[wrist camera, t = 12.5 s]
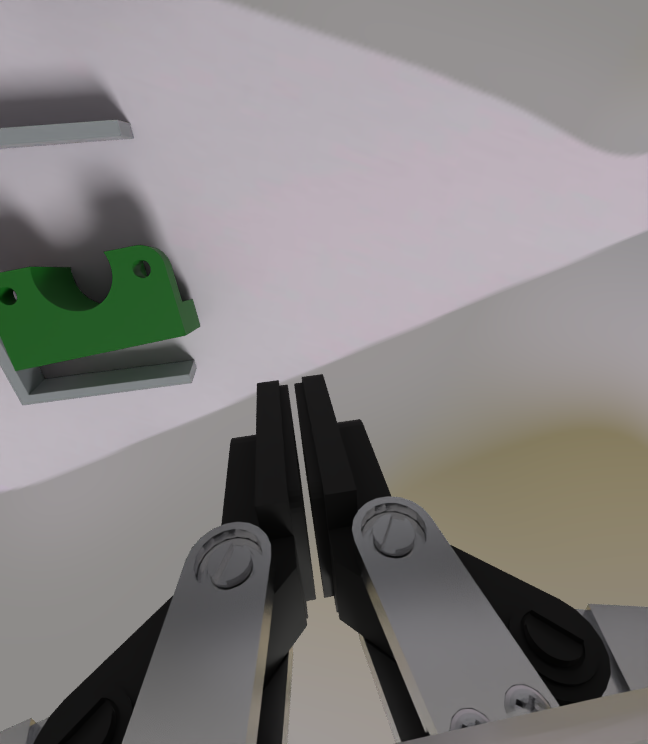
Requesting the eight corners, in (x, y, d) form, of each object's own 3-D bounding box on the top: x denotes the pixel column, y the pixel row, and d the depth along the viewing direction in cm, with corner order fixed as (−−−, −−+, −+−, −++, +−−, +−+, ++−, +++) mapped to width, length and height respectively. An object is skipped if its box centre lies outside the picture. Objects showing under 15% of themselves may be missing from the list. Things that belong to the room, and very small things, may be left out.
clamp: (169, 254, 32) (186, 236, 24) (190, 323, 34) (212, 328, 26) (-4, 282, 27) (-54, 272, 19) (29, 362, 29) (-4, 383, 21)
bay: (130, 123, 24) (88, 111, 18) (196, 368, 33) (182, 411, 27) (-91, 139, 23) (-206, 132, 17) (38, 388, 31) (-10, 437, 26)
